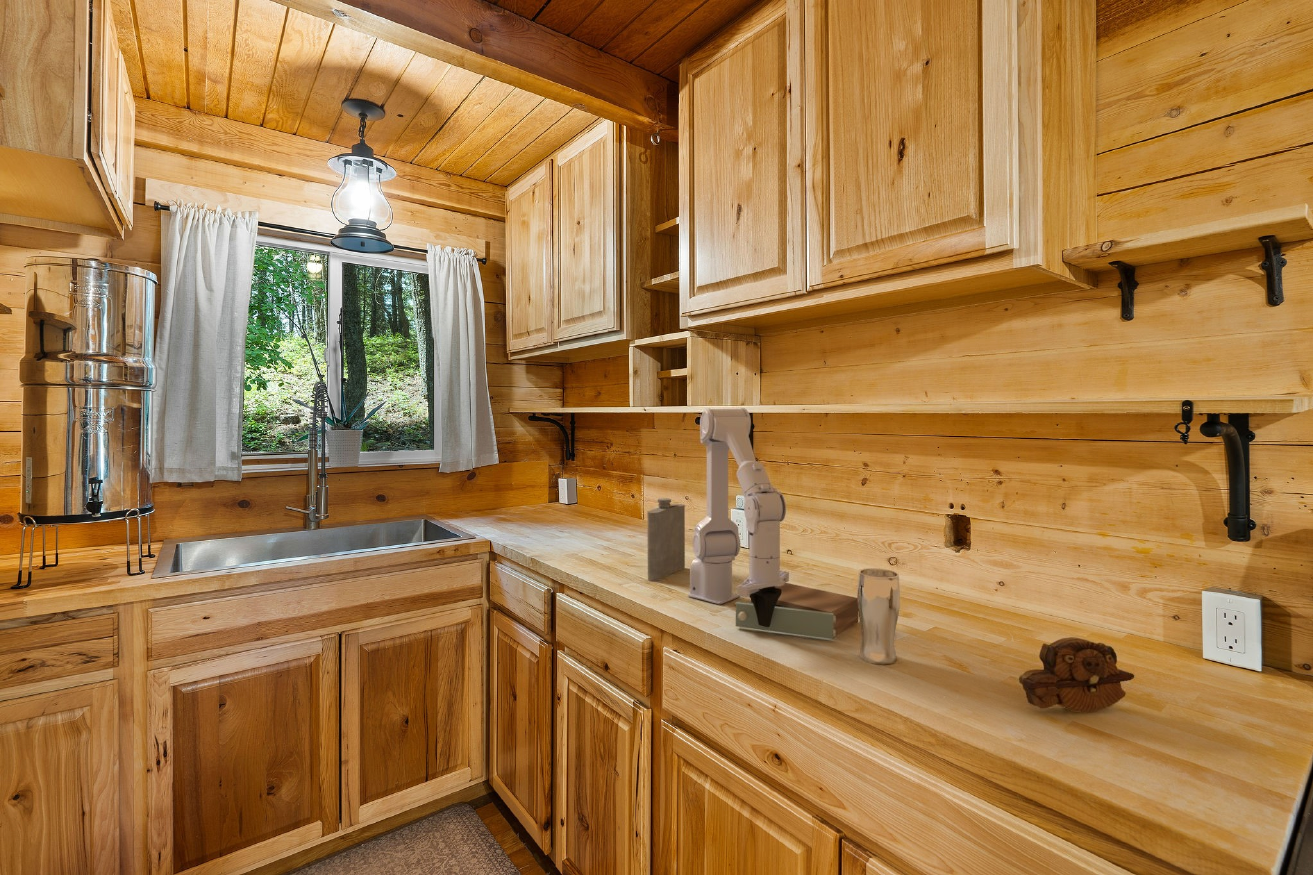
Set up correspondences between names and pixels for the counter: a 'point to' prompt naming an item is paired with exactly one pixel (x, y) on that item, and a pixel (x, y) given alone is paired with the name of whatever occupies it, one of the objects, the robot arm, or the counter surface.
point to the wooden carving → (1075, 676)
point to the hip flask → (665, 539)
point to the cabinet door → (789, 621)
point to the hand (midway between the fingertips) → (764, 625)
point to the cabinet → (820, 604)
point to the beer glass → (878, 614)
